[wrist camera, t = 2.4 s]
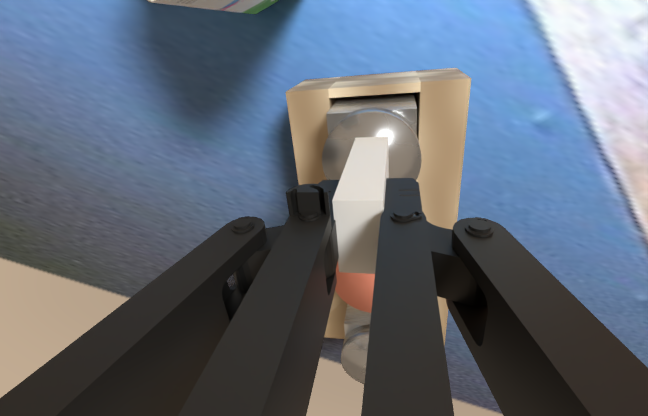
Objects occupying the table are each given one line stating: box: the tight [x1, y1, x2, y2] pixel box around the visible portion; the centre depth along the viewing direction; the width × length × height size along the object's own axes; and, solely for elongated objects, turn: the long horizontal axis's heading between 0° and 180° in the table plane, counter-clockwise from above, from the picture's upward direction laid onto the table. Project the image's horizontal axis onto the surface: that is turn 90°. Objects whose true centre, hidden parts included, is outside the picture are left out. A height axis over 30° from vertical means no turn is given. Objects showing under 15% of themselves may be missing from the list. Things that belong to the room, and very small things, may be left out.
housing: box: [286, 68, 471, 345], centre depth 25 cm, size 10×20×5 cm, turn 6°
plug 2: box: [322, 92, 422, 180], centre depth 19 cm, size 5×5×6 cm
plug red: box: [335, 262, 375, 313], centre depth 22 cm, size 5×5×6 cm
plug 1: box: [341, 304, 371, 384], centre depth 25 cm, size 5×5×6 cm
